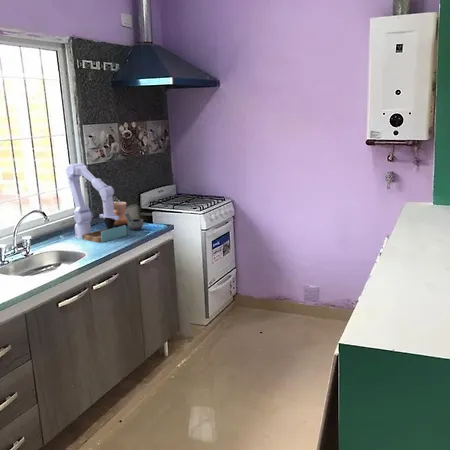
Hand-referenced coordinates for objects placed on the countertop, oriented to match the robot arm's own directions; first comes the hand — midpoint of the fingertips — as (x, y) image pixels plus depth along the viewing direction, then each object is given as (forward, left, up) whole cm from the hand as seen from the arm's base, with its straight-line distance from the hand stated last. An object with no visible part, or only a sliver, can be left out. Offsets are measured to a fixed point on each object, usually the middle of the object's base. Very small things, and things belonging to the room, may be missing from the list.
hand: (110, 230), depth 306 cm
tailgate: (+3, 0, -4) cm, 5 cm away
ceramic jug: (-28, +30, -6) cm, 41 cm away
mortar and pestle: (-4, +22, -6) cm, 23 cm away
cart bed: (-5, 0, -6) cm, 8 cm away
